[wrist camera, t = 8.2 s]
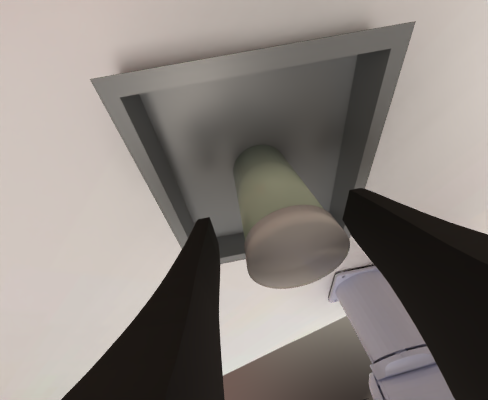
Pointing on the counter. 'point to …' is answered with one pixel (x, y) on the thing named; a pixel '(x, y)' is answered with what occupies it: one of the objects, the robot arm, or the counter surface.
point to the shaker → (284, 223)
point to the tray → (257, 123)
